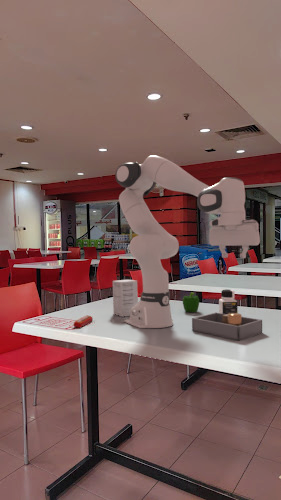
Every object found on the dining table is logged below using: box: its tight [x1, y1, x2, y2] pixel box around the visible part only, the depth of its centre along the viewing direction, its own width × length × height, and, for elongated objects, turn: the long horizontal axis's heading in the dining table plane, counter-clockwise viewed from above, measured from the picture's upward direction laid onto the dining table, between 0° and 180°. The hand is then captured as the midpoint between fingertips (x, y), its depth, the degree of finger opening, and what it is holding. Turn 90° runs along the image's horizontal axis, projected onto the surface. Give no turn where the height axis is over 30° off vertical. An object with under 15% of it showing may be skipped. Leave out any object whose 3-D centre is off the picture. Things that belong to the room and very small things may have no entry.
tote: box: [191, 312, 263, 342], centre depth 145 cm, size 22×16×5 cm
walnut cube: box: [222, 314, 228, 324], centre depth 147 cm, size 5×5×5 cm
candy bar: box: [72, 314, 93, 329], centre depth 163 cm, size 16×4×3 cm, turn 166°
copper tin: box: [228, 313, 242, 326], centre depth 139 cm, size 5×5×7 cm
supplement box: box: [112, 279, 139, 318], centre depth 183 cm, size 10×9×17 cm
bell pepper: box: [182, 291, 200, 313], centre depth 186 cm, size 8×8×10 cm
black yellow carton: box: [218, 288, 239, 314], centre depth 177 cm, size 7×7×12 cm
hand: (233, 257), depth 138 cm, fingers open, 6 cm apart
